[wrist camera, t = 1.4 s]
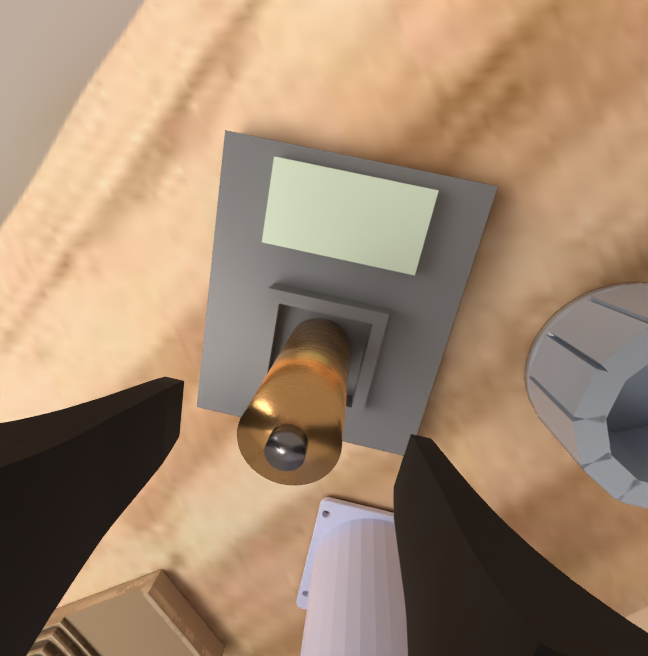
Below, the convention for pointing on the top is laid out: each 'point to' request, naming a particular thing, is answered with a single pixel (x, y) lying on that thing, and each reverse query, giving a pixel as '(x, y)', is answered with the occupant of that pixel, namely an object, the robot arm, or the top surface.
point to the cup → (597, 385)
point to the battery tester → (337, 276)
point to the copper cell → (299, 407)
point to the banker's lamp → (129, 624)
